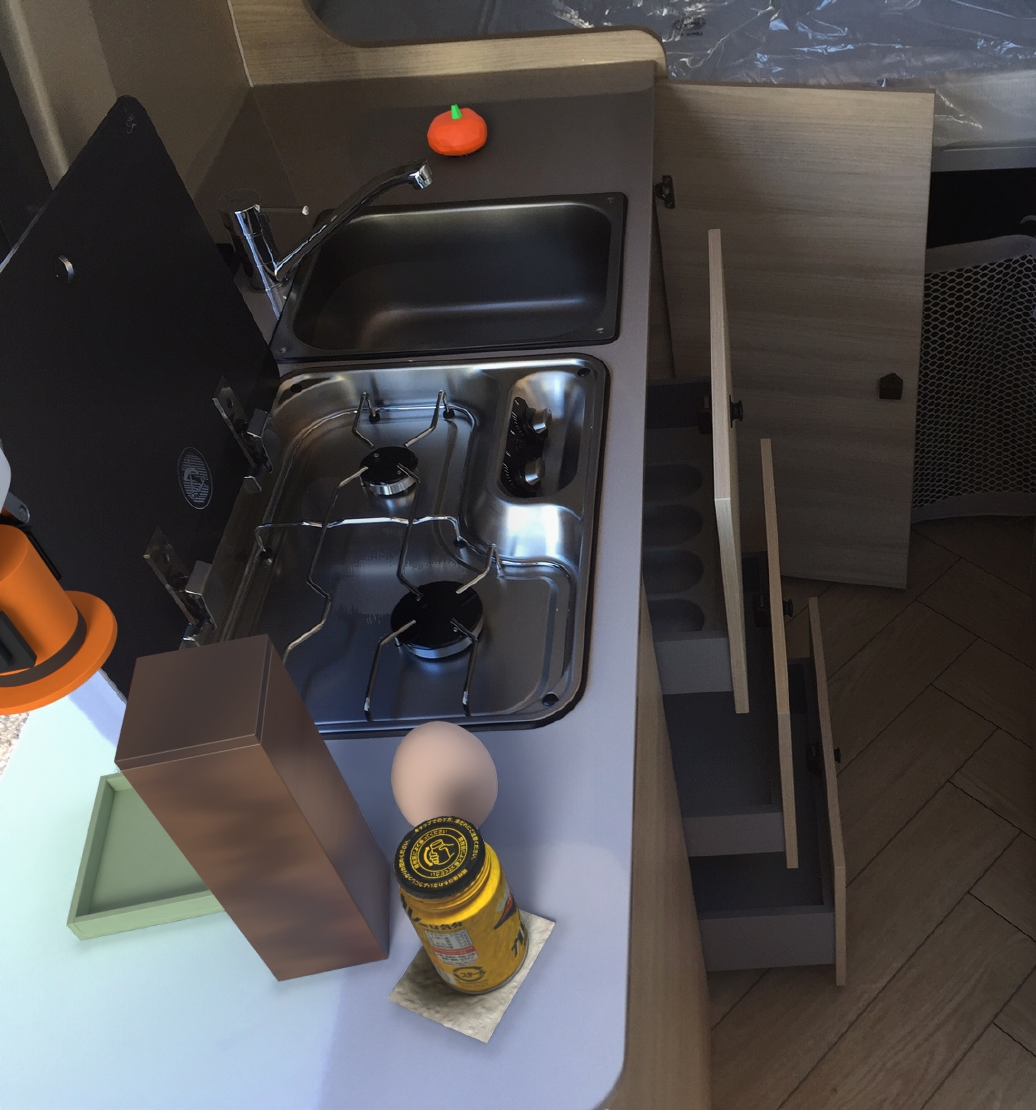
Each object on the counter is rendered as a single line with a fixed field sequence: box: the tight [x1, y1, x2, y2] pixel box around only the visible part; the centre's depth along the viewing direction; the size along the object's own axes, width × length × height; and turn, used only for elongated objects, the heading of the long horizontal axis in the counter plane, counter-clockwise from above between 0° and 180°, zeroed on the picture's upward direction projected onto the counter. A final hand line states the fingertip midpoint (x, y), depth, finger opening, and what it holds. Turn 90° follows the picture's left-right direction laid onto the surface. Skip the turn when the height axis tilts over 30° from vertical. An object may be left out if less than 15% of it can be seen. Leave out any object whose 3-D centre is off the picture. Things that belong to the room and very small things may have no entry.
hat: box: [0, 524, 118, 716], centre depth 68 cm, size 9×9×8 cm
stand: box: [113, 633, 391, 982], centre depth 71 cm, size 7×7×24 cm
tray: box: [65, 771, 226, 941], centre depth 84 cm, size 12×12×2 cm
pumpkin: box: [426, 104, 488, 158], centre depth 156 cm, size 7×8×6 cm
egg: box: [390, 720, 499, 829], centre depth 81 cm, size 7×7×10 cm
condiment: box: [387, 816, 556, 1044], centre depth 73 cm, size 7×8×12 cm
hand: (21, 621), depth 68 cm, fingers closed on hat, 6 cm apart
